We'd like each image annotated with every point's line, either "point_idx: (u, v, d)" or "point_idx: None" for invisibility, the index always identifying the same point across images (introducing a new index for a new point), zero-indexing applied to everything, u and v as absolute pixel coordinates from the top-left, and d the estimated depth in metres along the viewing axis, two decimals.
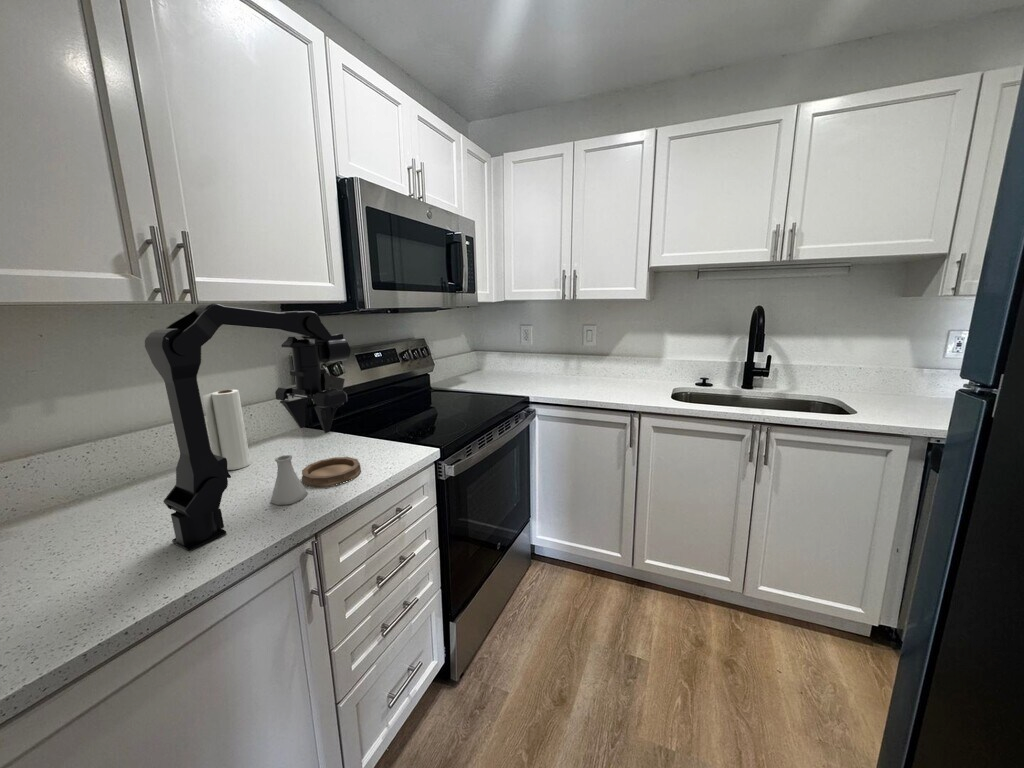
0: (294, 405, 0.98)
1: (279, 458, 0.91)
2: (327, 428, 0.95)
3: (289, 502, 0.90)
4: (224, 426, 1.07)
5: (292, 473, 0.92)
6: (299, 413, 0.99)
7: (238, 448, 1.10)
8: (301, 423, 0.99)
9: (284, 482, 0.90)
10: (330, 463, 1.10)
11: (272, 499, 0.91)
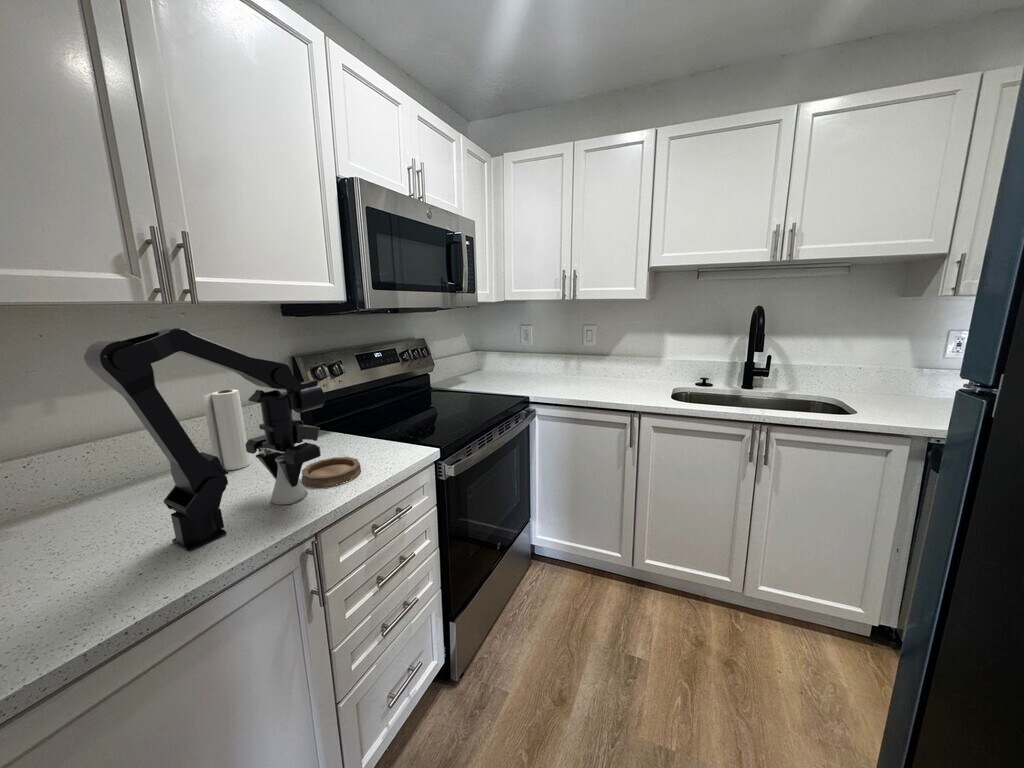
0: (271, 459, 0.92)
1: (279, 458, 0.91)
2: (294, 481, 0.91)
3: (289, 502, 0.90)
4: (224, 426, 1.07)
5: None
6: (276, 467, 0.93)
7: (238, 448, 1.10)
8: None
9: (284, 482, 0.90)
10: (330, 463, 1.10)
11: (272, 499, 0.91)
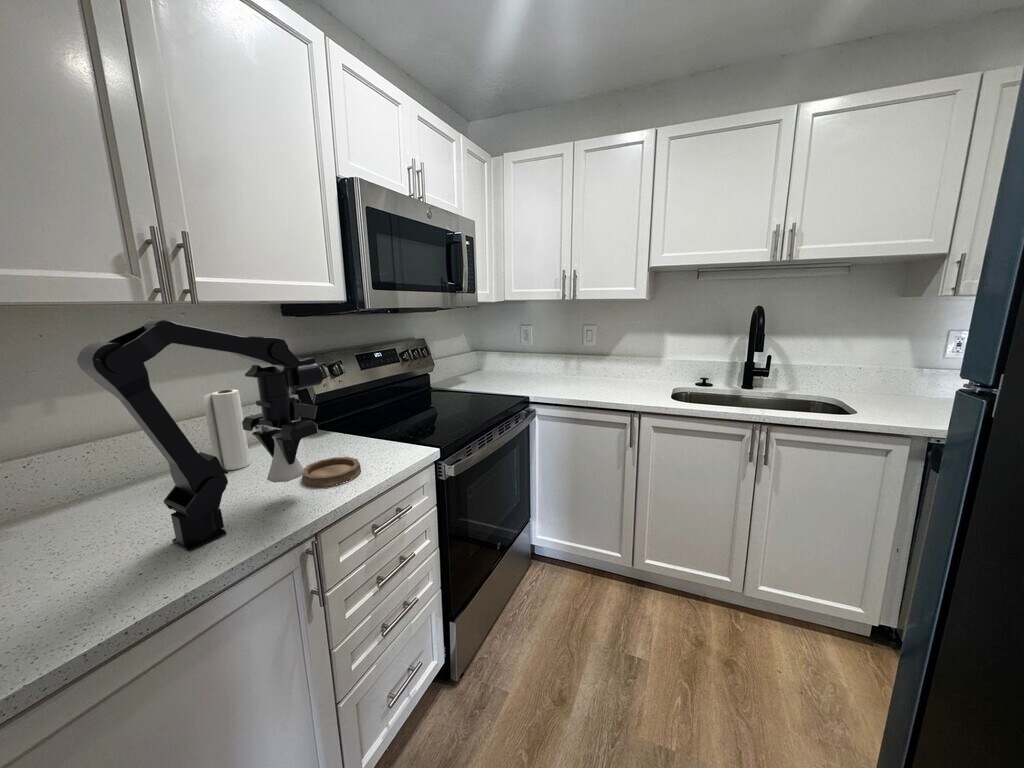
0: (268, 437, 0.91)
1: (276, 435, 0.90)
2: (291, 459, 0.90)
3: (286, 479, 0.89)
4: (224, 426, 1.07)
5: None
6: (273, 445, 0.92)
7: (238, 448, 1.10)
8: None
9: (281, 459, 0.89)
10: (330, 463, 1.10)
11: (269, 477, 0.89)
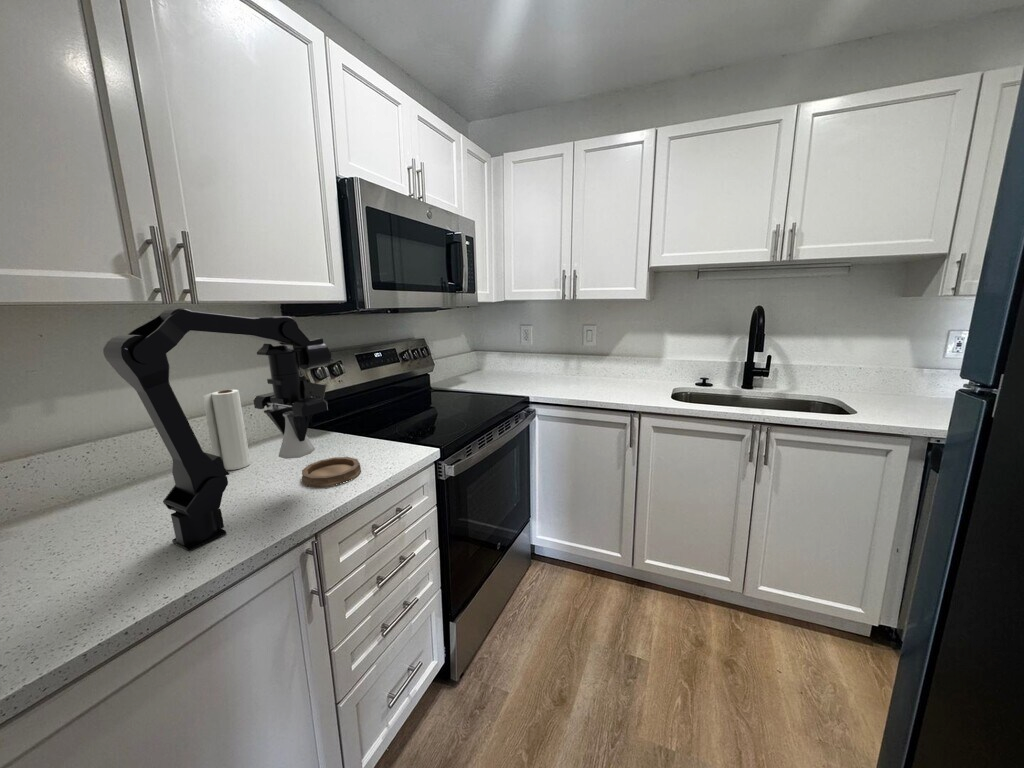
0: (279, 415, 0.93)
1: (287, 413, 0.93)
2: (302, 436, 0.92)
3: (297, 456, 0.91)
4: (224, 426, 1.07)
5: None
6: (284, 423, 0.94)
7: (238, 448, 1.10)
8: None
9: (291, 436, 0.91)
10: (330, 463, 1.10)
11: (280, 453, 0.92)
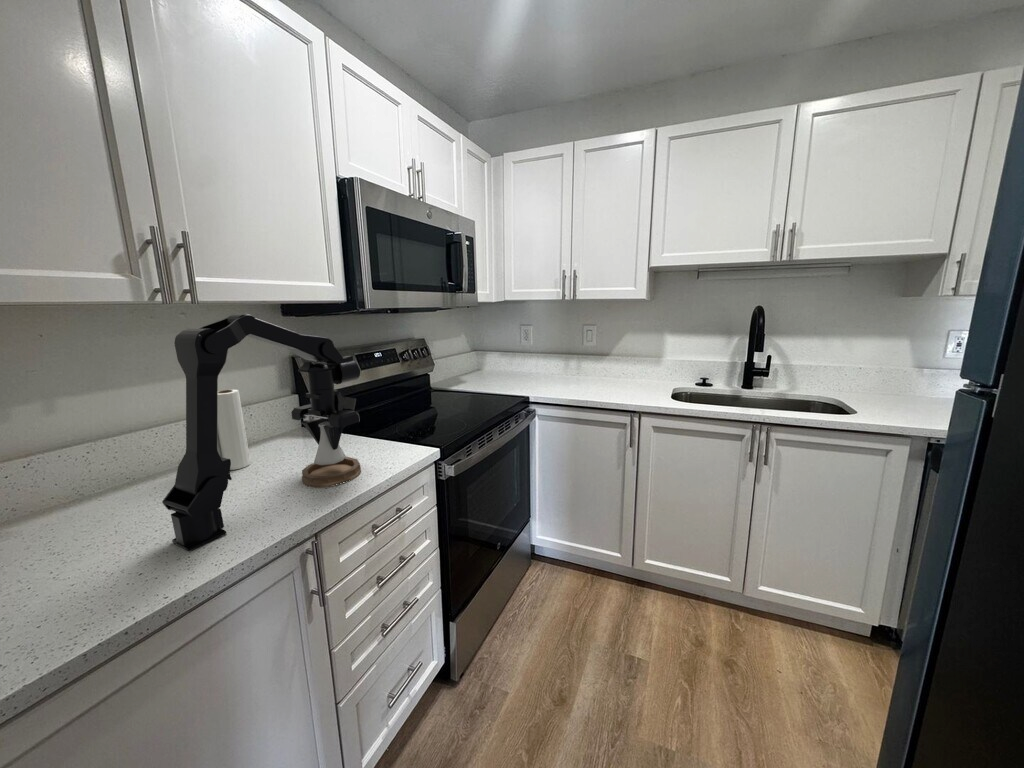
0: (314, 425, 1.03)
1: (321, 424, 1.03)
2: (335, 445, 1.02)
3: (331, 462, 1.01)
4: (224, 426, 1.07)
5: None
6: (319, 432, 1.04)
7: (238, 448, 1.10)
8: None
9: (326, 445, 1.01)
10: None
11: (316, 460, 1.02)
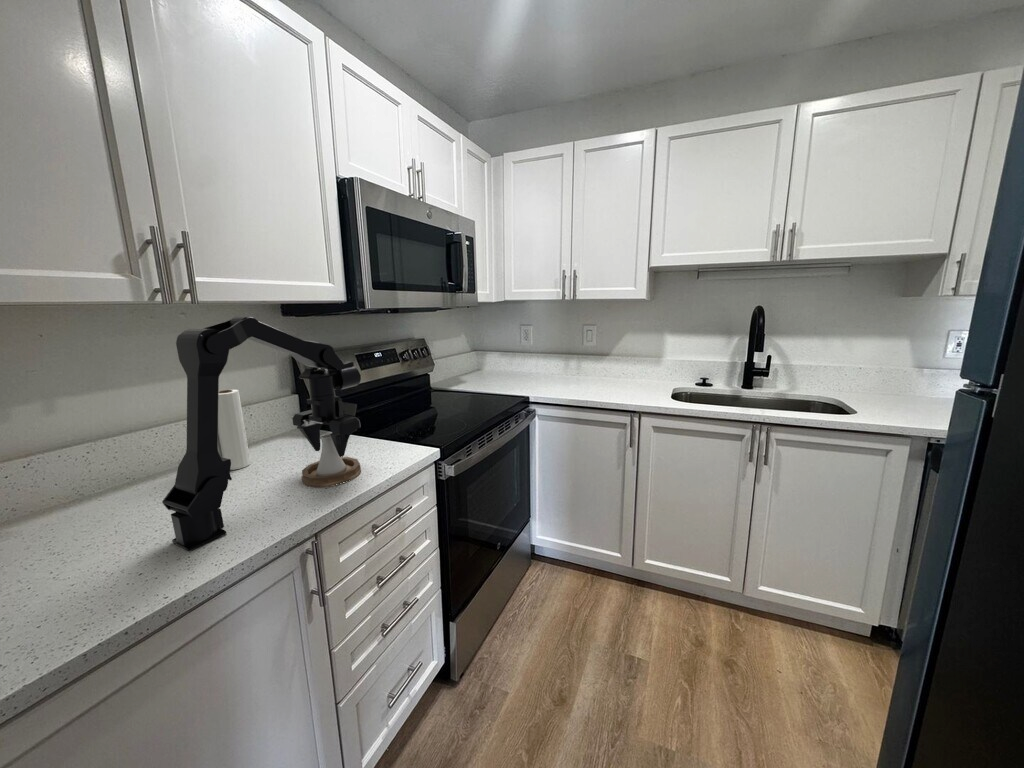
0: (310, 430, 1.04)
1: (323, 436, 1.03)
2: (342, 452, 1.01)
3: None
4: (224, 426, 1.07)
5: (335, 449, 1.04)
6: (314, 437, 1.05)
7: (238, 448, 1.10)
8: (317, 446, 1.05)
9: (328, 457, 1.02)
10: None
11: (317, 472, 1.02)
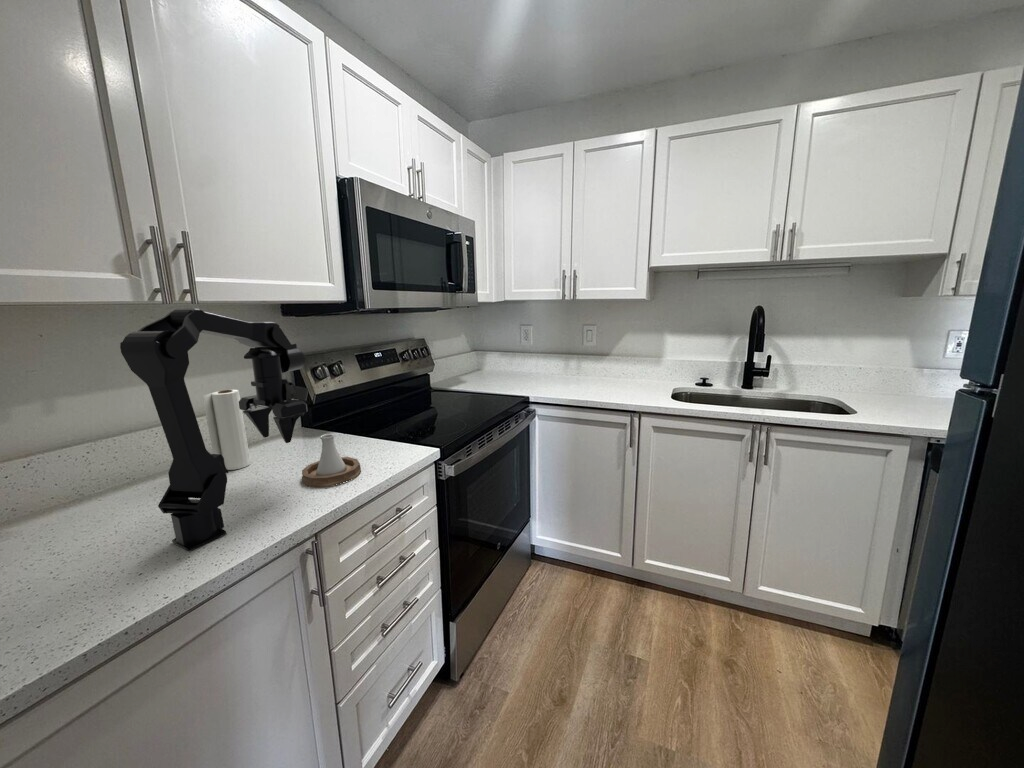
0: (257, 415, 0.98)
1: (323, 436, 1.03)
2: (288, 438, 0.95)
3: None
4: (224, 426, 1.07)
5: (335, 449, 1.04)
6: (262, 423, 0.99)
7: (238, 448, 1.10)
8: (265, 433, 1.00)
9: (328, 457, 1.02)
10: None
11: (317, 472, 1.02)
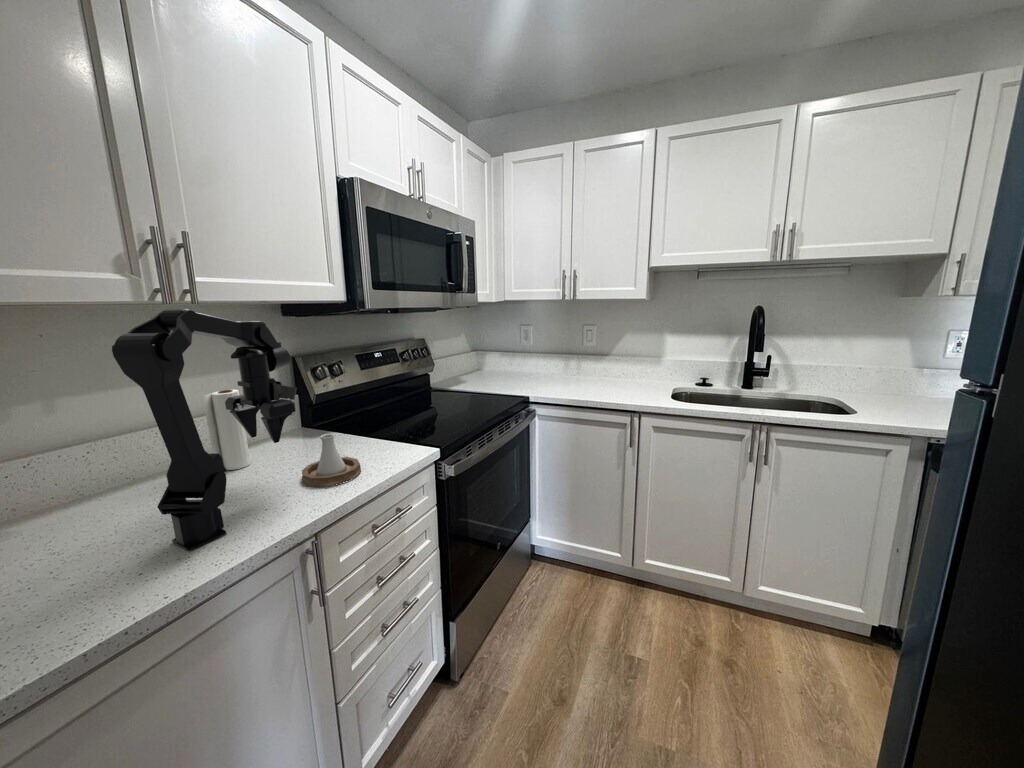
0: (244, 415, 0.97)
1: (323, 436, 1.03)
2: (276, 438, 0.94)
3: None
4: (224, 426, 1.07)
5: (335, 449, 1.04)
6: (250, 422, 0.98)
7: (238, 448, 1.10)
8: (252, 433, 0.99)
9: (328, 457, 1.02)
10: None
11: (317, 472, 1.02)
